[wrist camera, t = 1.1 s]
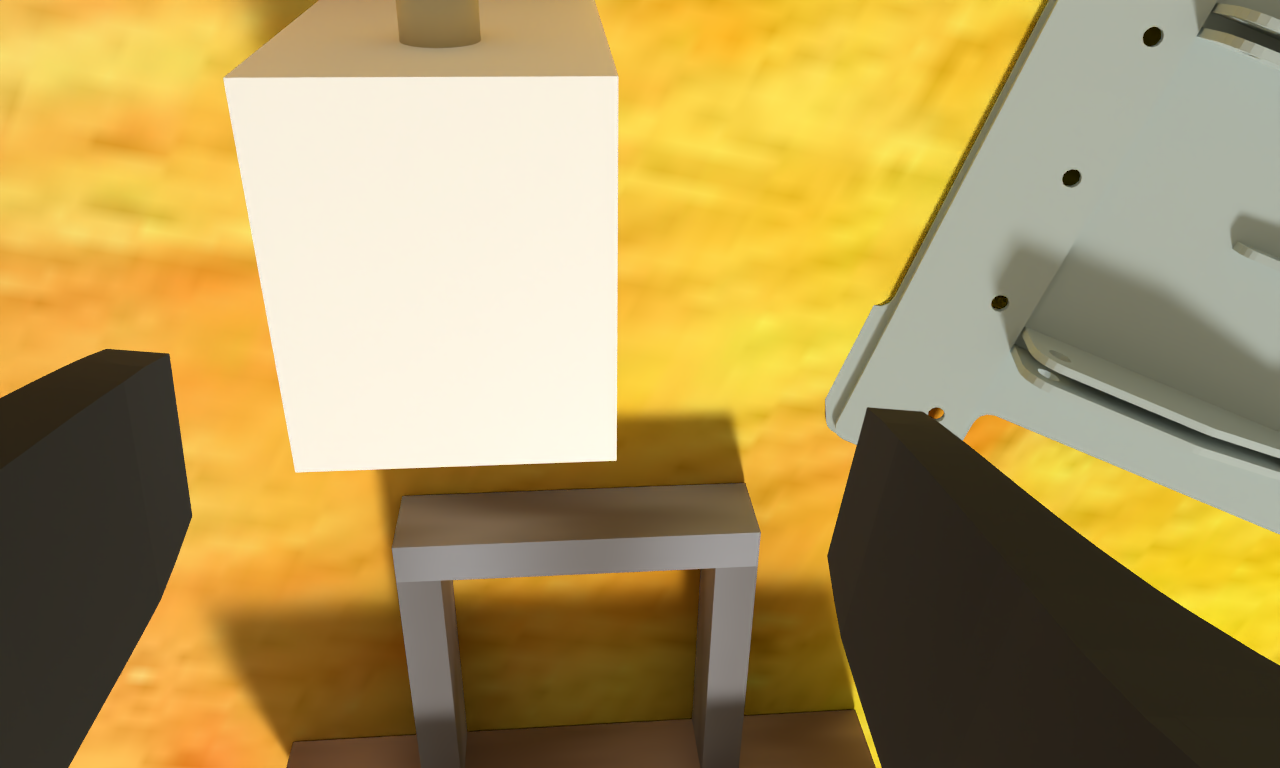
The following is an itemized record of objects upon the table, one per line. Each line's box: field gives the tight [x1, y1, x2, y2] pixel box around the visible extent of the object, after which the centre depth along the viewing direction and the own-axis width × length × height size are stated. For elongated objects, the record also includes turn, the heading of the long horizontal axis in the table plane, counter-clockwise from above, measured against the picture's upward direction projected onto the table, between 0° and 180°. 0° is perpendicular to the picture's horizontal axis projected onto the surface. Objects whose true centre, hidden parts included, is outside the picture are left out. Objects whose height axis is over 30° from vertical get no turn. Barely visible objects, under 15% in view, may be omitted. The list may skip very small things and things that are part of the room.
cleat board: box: [286, 483, 876, 768], centre depth 25 cm, size 16×10×5 cm, turn 89°
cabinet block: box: [223, 0, 618, 472], centre depth 17 cm, size 5×7×7 cm
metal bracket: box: [825, 0, 1280, 534], centre depth 22 cm, size 14×6×15 cm
